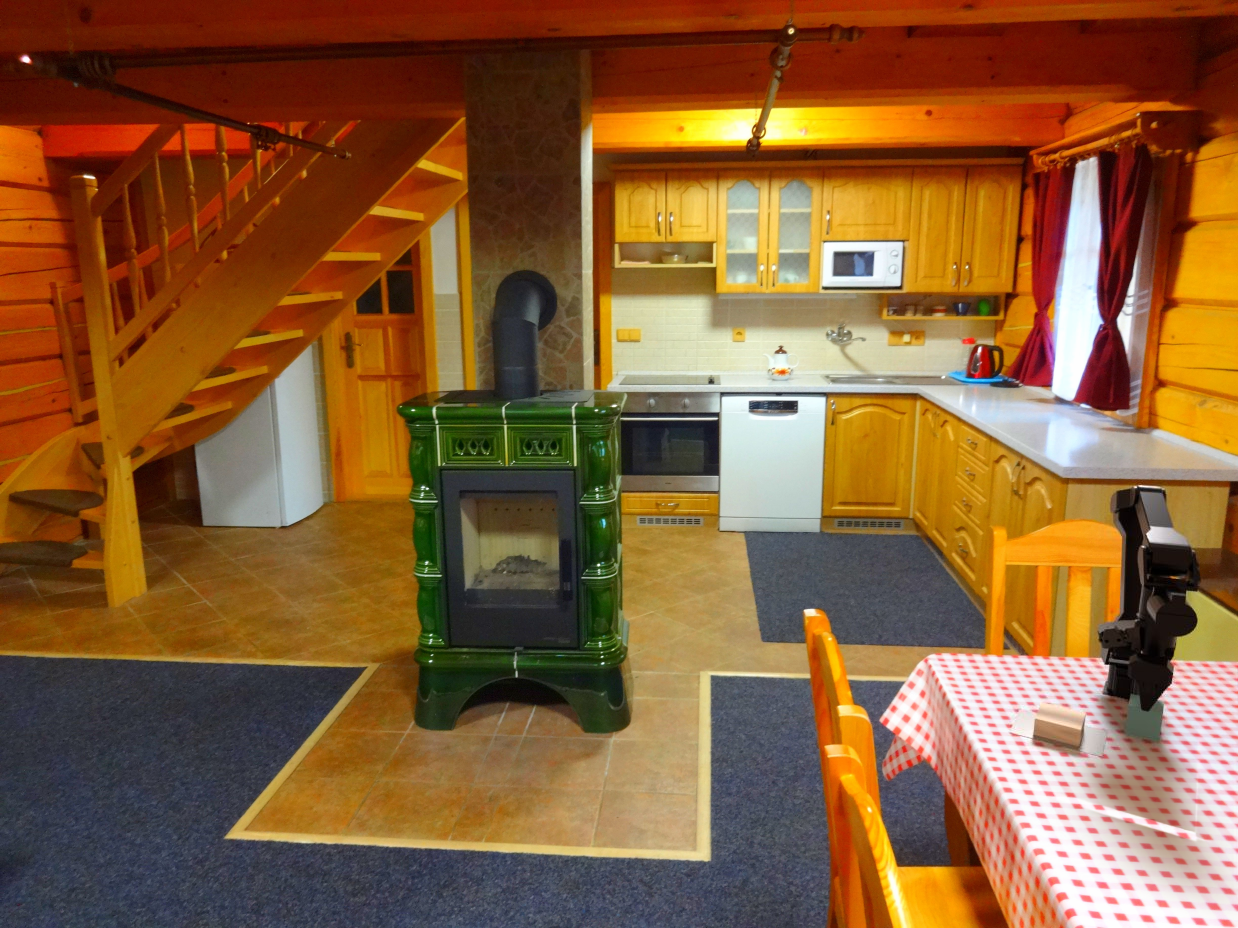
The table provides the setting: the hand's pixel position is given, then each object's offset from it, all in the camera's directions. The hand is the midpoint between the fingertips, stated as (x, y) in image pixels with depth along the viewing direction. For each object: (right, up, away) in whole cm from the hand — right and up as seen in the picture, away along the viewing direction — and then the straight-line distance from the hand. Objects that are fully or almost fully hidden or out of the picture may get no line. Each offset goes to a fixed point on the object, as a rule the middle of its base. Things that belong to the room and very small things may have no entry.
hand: (1146, 699), depth 149 cm
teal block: (0, -6, +1) cm, 7 cm away
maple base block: (-15, -6, +1) cm, 16 cm away
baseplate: (-15, -6, +1) cm, 16 cm away
